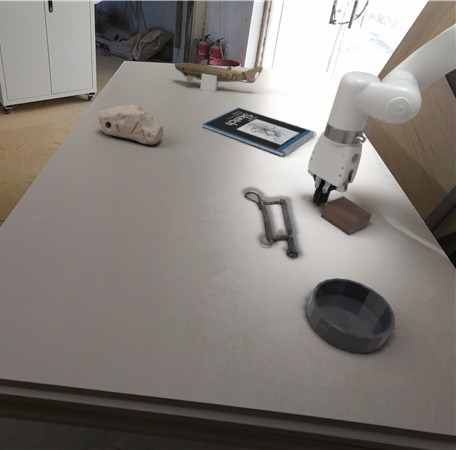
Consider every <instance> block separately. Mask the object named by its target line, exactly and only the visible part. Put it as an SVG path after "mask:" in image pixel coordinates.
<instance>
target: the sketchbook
mask: <svg viewBox="0 0 456 450" xmlns="http://www.w3.org/2000/svg"><path fill="white" fill-rule="evenodd" d="M202 128H204V129H206V130H209V131H212V132H215V133H218V134H220V135H223V136H226V137H228V138H231V139H234V140H237V141H240V142H243V143H245V144H247V145H249V146H250V145H251V146H253V147H256V148H259V149H262V150H264V151H267V152H270V153H272V154H275V155H278V156H280V157H284V158H285V157H287V156H288V155H290V154H292V152H294V151H296V150H297V149H298V148H300V147H301V146H303V145H304V144H305V143H308V141H310V140H312V139H313V138H314V137H316V135H317V132H316V131H314V130H312V129H311V130H310V129H307V128H305V127H301V126H298V125H295V124H292V123H289V122H286V121H283V120H279V119H276V118H272V117H269V116H266V115H263V114H260V113H257V112H253V111H250V110H247V109H244V108H241V107H237V108H235V109H232V110H230V111H228V112H225V113H224V114H221V115H219V116H217V117H215V118H212V119H210V120H208V121H206V122H204V123H202Z"/></svg>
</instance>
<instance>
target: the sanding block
mask: <svg viewBox="0 0 456 450" xmlns="http://www.w3.org/2000/svg"><path fill="white" fill-rule="evenodd" d="M372 216H373V213H372V212H371V211H369V210H367V209H365V208H363V207H362V206H360V205H359V204H357V203H355V202H354V201H352V200H350V199H349V198H347V197H345V196H344V195H342V196H339V197H337V198H335V199H331V200H328V201H327V202H326V203H324V206H323V210H322V212H321V215H320V217H321V218H322V219H324V220H325V221H327V222H328V223H330V224H331V223H332V224H331V225H332V226H334V225H335V226H334V227H335V228H337V227H338V228H337V229H339V230H340V229H341V230H340V231H342V232H343V233H344V234H346V235H347V236H351V235H353V234H355V233H357V232H359V231H362V230H365V229H367V226H368V224H369V222H370V220H371V218H372ZM350 234H351V235H350Z"/></svg>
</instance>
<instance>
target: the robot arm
mask: <svg viewBox="0 0 456 450" xmlns="http://www.w3.org/2000/svg"><path fill="white" fill-rule="evenodd" d="M454 70H456V22H455V23H453V25H451V26H449V27H448V28H446V29H445V30H443V31H442V32H441V33H439V34H438V35H437V36H435V37H433V38H432V39H430V40H429V41H427V42H426V43H424V44H423V45H421V46H420V47H419V48H417V49H416V50H415V51H413V52H412V53H411V54H410V55H409V56H408V57H406V58H405V59H404V60H402V61H401V63H399V64H398V65H396V66H395V67H394V68H393V69H392V70H391V71H390V72H389V73H387V74H386V75H385V76H384V77H383V78H382V80H381V79H380V78H379V77H378V76H377V75H375V74H373V73H369V72H365V71H349V72H346V73H345V74H343V75H342V77H341V78H340V81H339V84H338V87H337V89H336V93H335V96H334V99H333V103H332V106H331V109H330V112H329V115H328V119H327V122H326V125H325V128H324V131H322V132H321V134H320V135H319V137H318V139H317V140H316V142H315V145H314V147H313V149H312V151H311V153H310V156H309V160H308V164H307V173H308V174H309V175H310V176H311V177H312V179H313V181H314V186H313V187H314V188H315V190H314V193H313V196H312V197H313V198H312V200H311V201H312V202H311V204H314V205H315V206H317V207H318V206H321V205H325V204H326V202H328V201H329V197H330V195H331V192H333V191H335V192H338V193H345V192H347V191H348V187H349V184H352V183H354V180H355V178H356V176H357V173H358V170H359V165H360V161H361V158H362V151H363V144H364V143H365V142H366V141H367V137H366V136H364V132H365V128H366V126H367V123H368V120H369V118H373V119H376V120H379V121H382V122H385V123H388V124H396V125H398V124H405V123H407V122H410V121H411V120H412V119H413V118H415V117H416V116H417V115H418V114H419V112H420V111H421V108H422V107H421V106H422V102H423V101H422V95H421V93H422V92H423V91H424V90H426V89H428V88H429V87H430V86H431V85H432V84H434V83H436V81H438V80H439V79H441V78H442V77H444V76H445V75H447V74H449V73H451V72H453V71H454Z"/></svg>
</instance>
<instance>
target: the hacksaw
mask: <svg viewBox="0 0 456 450" xmlns="http://www.w3.org/2000/svg"><path fill="white" fill-rule="evenodd" d="M248 194H253V195H255V196H256V197H257V199H258V201H257V200H255V199H253V198H251V197H249V196H247V195H248ZM244 197H245V198H246V199H247V200H250V201H252V202H254V203H256V204H257V205H258V210H261V212H262V215H263V221H264V228H265V234H266V239H268V240H269V241H270V243H265V242H263V241H262V240H263V238H264V237H265V236H264V235H263V236H262V237H260V242H261V243H262V244H263V245H265V246H272V245H273V244H274V241H277V240H279V239H284V240H287V243H288V248H287V249H286V251H285V252H286V253H287V255H288V257H291V258H295V257H298V255H299V251H298V250H297V247H296V244H295V239H294V232H293V227H292V222H291V219H290V214H289V210H288V202H287V201H286V199H283V198H280V200H272V201H267V200H263V199H262V197H261V196H260V195H259V194H258V193H256V192H255V191H247V192H245V193H244ZM276 204H277V205H278V206H279V205H281V211H282V214H283V219H284V224H285V228H286V232H287V234H283V233H280V234H276V235H274V234H273V229H272V226H271V221H270V217H269V216H270V215H269V213H268V209H267V207H266V205H276Z"/></svg>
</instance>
